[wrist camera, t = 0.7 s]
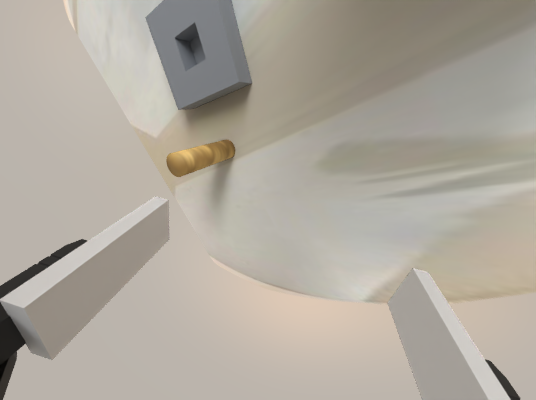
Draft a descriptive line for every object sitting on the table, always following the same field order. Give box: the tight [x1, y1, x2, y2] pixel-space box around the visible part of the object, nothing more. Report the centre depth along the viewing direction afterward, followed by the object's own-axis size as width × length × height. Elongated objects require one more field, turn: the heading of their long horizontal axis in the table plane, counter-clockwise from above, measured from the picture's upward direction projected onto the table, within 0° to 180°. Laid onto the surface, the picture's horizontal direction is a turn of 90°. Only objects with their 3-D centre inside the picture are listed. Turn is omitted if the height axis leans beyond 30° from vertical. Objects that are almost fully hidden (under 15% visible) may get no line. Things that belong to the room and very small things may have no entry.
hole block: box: [146, 0, 252, 110], centre depth 39 cm, size 16×16×4 cm
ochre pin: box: [167, 140, 235, 177], centre depth 41 cm, size 4×4×14 cm
